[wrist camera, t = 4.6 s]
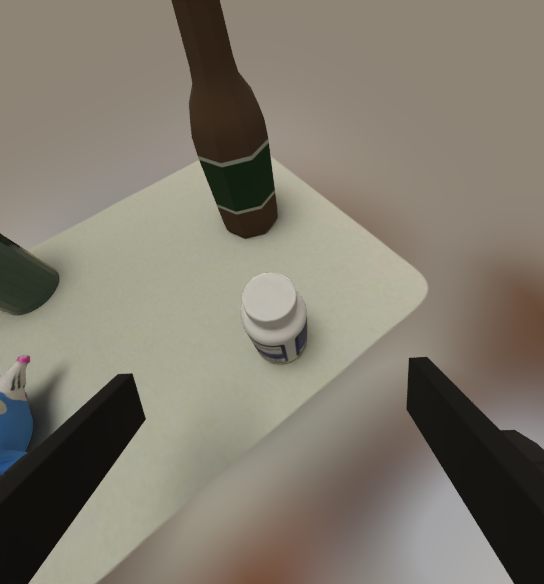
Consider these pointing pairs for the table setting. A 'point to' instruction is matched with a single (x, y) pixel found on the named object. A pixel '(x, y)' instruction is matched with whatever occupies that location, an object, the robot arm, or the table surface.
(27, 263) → the cup
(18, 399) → the blue mole toy
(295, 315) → the pill bottle
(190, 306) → the table surface
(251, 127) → the beer bottle
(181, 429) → the table surface
